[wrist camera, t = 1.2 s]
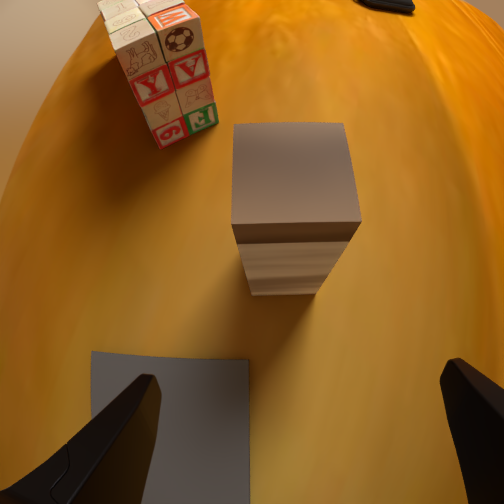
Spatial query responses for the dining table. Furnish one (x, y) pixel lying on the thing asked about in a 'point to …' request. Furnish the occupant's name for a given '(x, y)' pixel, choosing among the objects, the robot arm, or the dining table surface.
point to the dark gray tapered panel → (188, 425)
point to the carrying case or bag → (392, 5)
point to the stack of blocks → (163, 64)
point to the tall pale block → (292, 203)
